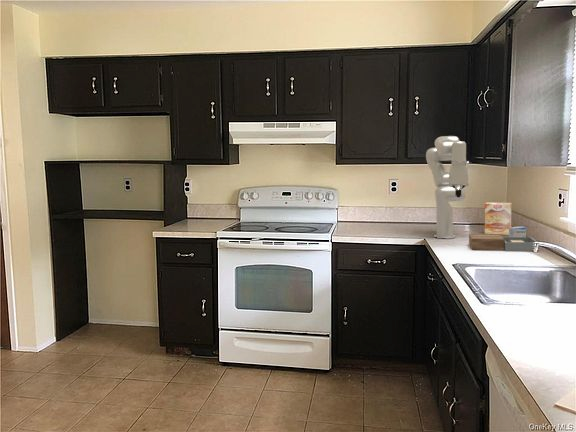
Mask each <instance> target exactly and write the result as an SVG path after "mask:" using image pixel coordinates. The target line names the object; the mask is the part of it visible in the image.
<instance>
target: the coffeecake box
mask: <svg viewBox="0 0 576 432" xmlns="http://www.w3.org/2000/svg"><path fill="white" fill-rule="evenodd" d="M512 204H513V203H512V202H485V204H484V234H498V235H505V236H506V235H507V236H509V227H512Z"/></svg>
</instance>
